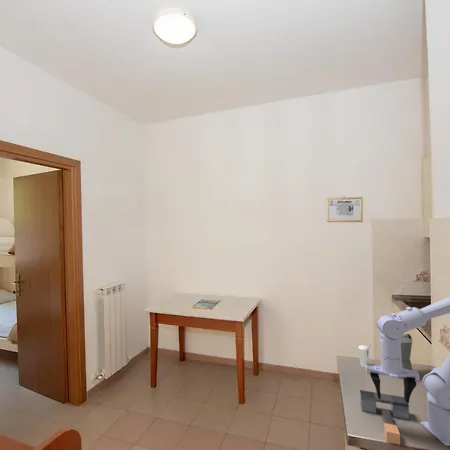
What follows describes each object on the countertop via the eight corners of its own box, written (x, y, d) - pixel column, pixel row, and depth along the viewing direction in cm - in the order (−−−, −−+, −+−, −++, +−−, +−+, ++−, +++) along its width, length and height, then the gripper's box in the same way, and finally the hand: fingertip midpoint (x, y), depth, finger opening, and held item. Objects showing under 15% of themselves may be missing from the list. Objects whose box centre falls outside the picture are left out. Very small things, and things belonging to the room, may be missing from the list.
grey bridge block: (360, 404, 99) (359, 389, 99) (405, 412, 94) (405, 397, 94) (361, 411, 95) (361, 396, 96) (409, 419, 91) (408, 404, 91)
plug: (379, 416, 93) (379, 407, 93) (391, 418, 91) (391, 409, 92) (386, 442, 81) (386, 431, 81) (400, 445, 80) (399, 434, 80)
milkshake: (373, 368, 124) (372, 346, 124) (360, 367, 125) (359, 345, 125) (370, 364, 129) (369, 342, 129) (357, 363, 130) (357, 341, 130)
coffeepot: (405, 383, 112) (403, 338, 112) (381, 373, 120) (380, 331, 120) (423, 372, 120) (422, 330, 120) (400, 364, 128) (399, 324, 128)
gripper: (367, 358, 87) (369, 402, 86) (422, 364, 82) (424, 411, 82) (364, 349, 93) (365, 390, 93) (414, 354, 89) (416, 397, 88)
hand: (392, 399), depth 88 cm, fingers open, 7 cm apart
